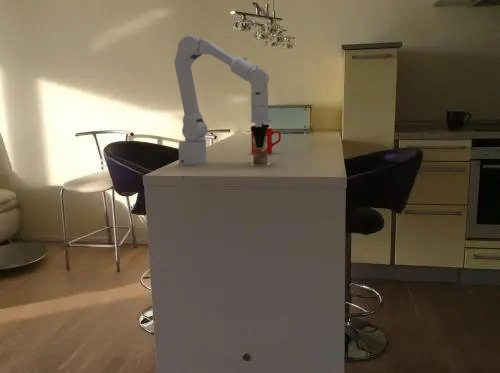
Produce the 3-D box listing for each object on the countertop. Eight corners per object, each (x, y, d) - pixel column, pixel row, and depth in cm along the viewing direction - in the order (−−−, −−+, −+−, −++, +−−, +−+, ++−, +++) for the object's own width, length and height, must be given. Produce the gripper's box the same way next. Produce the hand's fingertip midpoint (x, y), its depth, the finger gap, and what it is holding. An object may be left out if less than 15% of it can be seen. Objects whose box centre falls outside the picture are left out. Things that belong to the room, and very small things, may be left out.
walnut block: (253, 164, 165) (253, 153, 164) (254, 162, 169) (254, 151, 168) (266, 164, 164) (266, 153, 164) (267, 162, 169) (267, 151, 168)
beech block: (253, 149, 164) (252, 137, 163) (254, 147, 168) (254, 136, 167) (266, 149, 163) (266, 137, 163) (267, 147, 168) (267, 136, 167)
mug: (250, 154, 198) (250, 128, 196) (253, 152, 206) (253, 127, 204) (279, 154, 196) (279, 128, 194) (281, 152, 204) (281, 126, 202)
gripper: (270, 106, 155) (271, 149, 158) (272, 105, 170) (273, 144, 172) (248, 107, 156) (249, 149, 159) (252, 105, 170) (253, 144, 173)
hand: (260, 146), depth 166 cm, fingers closed on beech block, 4 cm apart
